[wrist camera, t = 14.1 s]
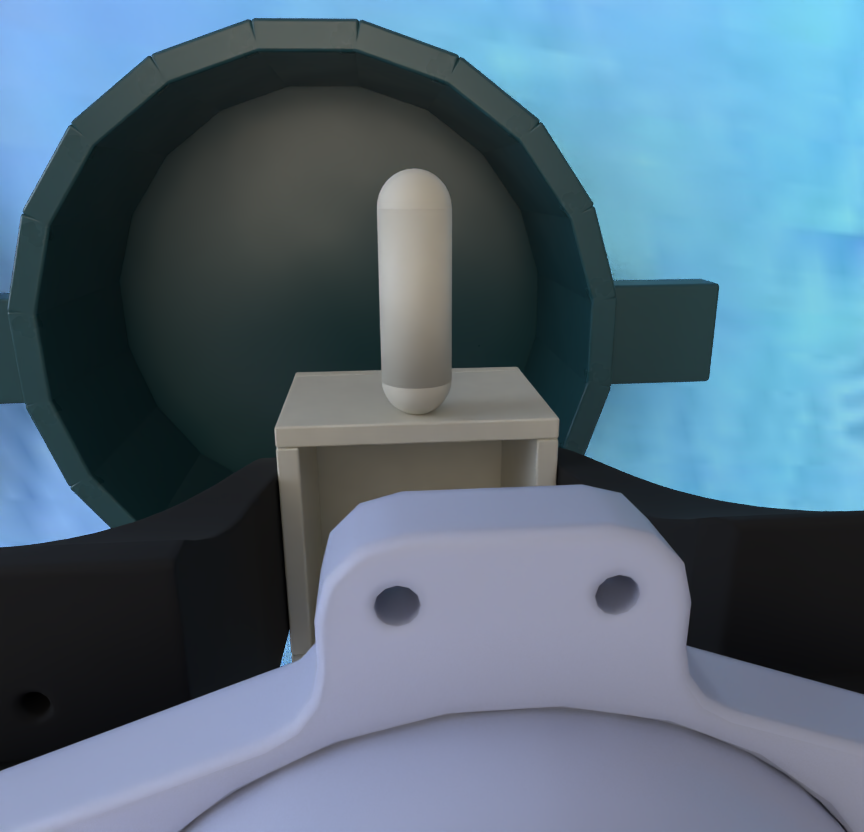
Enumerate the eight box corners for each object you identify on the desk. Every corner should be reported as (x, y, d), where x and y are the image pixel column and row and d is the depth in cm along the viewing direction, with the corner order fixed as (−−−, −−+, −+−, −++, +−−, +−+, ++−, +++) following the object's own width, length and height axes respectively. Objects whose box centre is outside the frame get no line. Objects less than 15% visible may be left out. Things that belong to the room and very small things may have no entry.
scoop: (511, 562, 16) (549, 660, 13) (308, 571, 16) (292, 674, 12) (523, 171, 13) (574, 166, 10) (282, 171, 13) (253, 168, 10)
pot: (624, 497, 24) (699, 590, 19) (50, 522, 23) (-52, 631, 17) (657, 64, 20) (766, 20, 15) (-36, 63, 19) (-205, 14, 13)
